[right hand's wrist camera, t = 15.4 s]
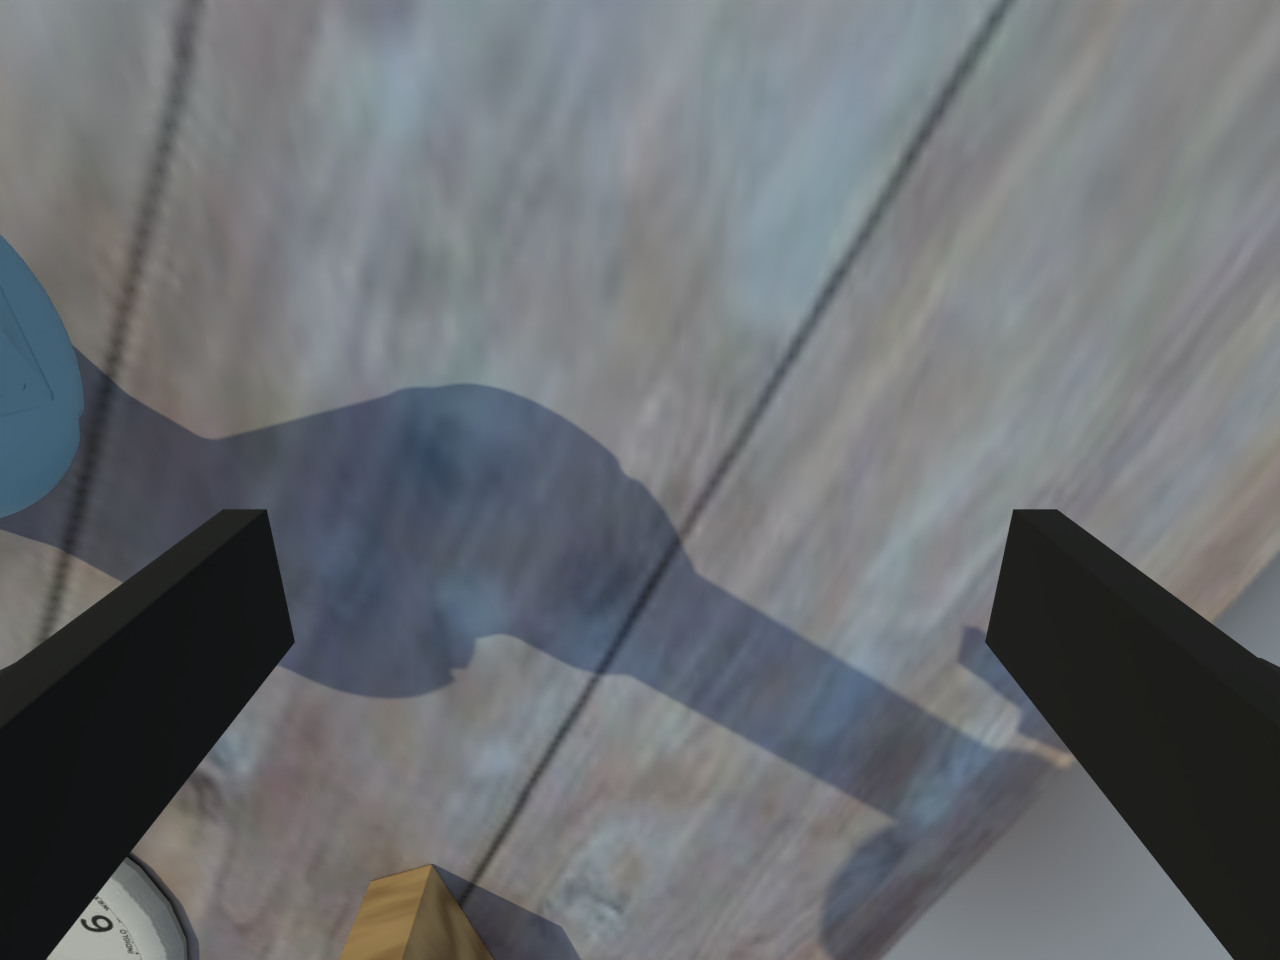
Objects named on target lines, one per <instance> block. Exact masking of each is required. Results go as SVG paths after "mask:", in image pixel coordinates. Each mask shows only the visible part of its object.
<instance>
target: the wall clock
mask: <svg viewBox="0 0 1280 960" xmlns="http://www.w3.org/2000/svg"><path fill="white" fill-rule="evenodd" d="M46 960H187V944H186V938H185V935H184V933H183V931H182V929H181V926H180V924H179V922H178V920H177V917H176V915H175V913H174V911H173V909H172V906H171V904H170V902H169V901H168V900H167V899H166V898H165V896H164V895H163V894H162V893H161V892H160V890H159V889H158V888H157V887H156V886H155V884H154V883H153V882H152V881H151V880H150V878H149V877H148V876H147V875H146V874H145V872H144V871H143V870H142V869H141V868H140V867H139V866H138V865H137V864H135V863H134V862H133V861H131V860H130V859H129V858H128V857H126V858H125V859H124V861H123V862H122V863H121V865H120V866H119V867H118V868H117V870H116V871H115V872H114V874H113V875H112V876H111V877H110V879H109V880H108V881H107V882H106V884H105V885H104V886H103V888H102V889H101V890H100V891H99V893H98V894H97V895H96V896H95V898H94V899H93V900H92V902H91V903H90V904H89V905H88V907H87V908H86V909H85V911H84V912H83V913H82V914H81V916H80V917H79V918H78V919H77V921H76V922H75V923H74V925H73V926H72V927H71V928H70V930H69V931H68V932H67V934H66V935H65V936H64V937H63V939H62V940H61V941H60V942H59V944H58V945H57V946H56V948H55V949H54V950H53V951H52V953H51V954H50V955H49V956H48V958H47V959H46Z"/></svg>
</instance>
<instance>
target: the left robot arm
mask: <svg viewBox="0 0 1280 960" xmlns="http://www.w3.org/2000/svg"><path fill="white" fill-rule="evenodd" d="M83 411H84V394H83V385H82V380H81V375H80V370H79V365H78V361H77V358H76V354H75V352H74V349H73V346H72V343H71V341H70V338H69V336H68V333H67V331H66V329H65V327H64V324H63V322H62V320H61V318H60V316H59V314H58V312H57V310H56V309H55V307H54V305H53V303H52V301H51V300H50V298H49V296H48V294H47V293H46V291H45V289H44V288H43V286H42V285H41V283H40V282H39V280H38V279H37V278H36V276H35V275H34V274H33V272H32V271H31V270H30V268H29V267H28V266H27V264H26V263H25V262H24V260H23V259H22V258H21V257H20V256H19V254H18V253H17V252H16V251H15V250H14V248H13V247H12V246H11V245H10V244H9V243H8V242H7V241H6V240H5V239H4V238H3V237H2V235H0V518H3V517H6V516H9V515H12V514H14V513H17V512H19V511H21V510H23V509H25V508H27V507H29V506H31V505H32V504H34V503H36V502H37V501H39V500H40V499H42V498H43V497H44V496H45V495H47V494H48V493H49V492H50V491H51V490H52V489H53V488H54V487H55V486H56V485H57V484H58V483H59V482H60V480H61V479H62V478H63V476H64V475H65V473H66V472H67V470H68V469H69V467H70V465H71V463H72V461H73V459H74V457H75V454H76V452H77V450H78V447H79V443H80V439H81V437H80V429H79V418H80V417H81V416H82V414H83Z"/></svg>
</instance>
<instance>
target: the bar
mask: <svg viewBox="0 0 1280 960" xmlns="http://www.w3.org/2000/svg"><path fill="white" fill-rule="evenodd" d="M340 960H494V959H493V957H492V956H491V954H490V953H489V951H488V949H487V948H486V946H485V945H484V943H483V942H482V940H481V939H480V937H479V936H478V934H477V933H476V931H475V930H474V928H473V926H472V925H471V923H470V922H469V920H468V919H467V917H466V916H465V914H464V913H463V911H462V910H461V908H460V907H459V905H458V903H457V902H456V900H455V899H454V897H453V896H452V894H451V893H450V891H449V890H448V888H447V887H446V885H445V884H444V882H443V880H442V879H441V877H440V876H439V874H438V873H437V871H436V870H435V868H434V867H433V865H432V864H431V865H427V866H424V867H420V868H417V869H413V870H409V871H406V872H402V873H399V874H395V875H392V876H388V877H384V878H381V879H377V880H374V881H371V882H370V884H369V887H368V889H367V892H366V894H365V897H364V899H363V902H362V904H361V907H360V909H359V912H358V914H357V917H356V919H355V922H354V925H353V927H352V930H351V932H350V935H349V937H348V940H347V942H346V945H345V947H344V950H343V952H342V955H341V957H340Z"/></svg>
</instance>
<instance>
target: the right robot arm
mask: <svg viewBox="0 0 1280 960" xmlns="http://www.w3.org/2000/svg"><path fill="white" fill-rule="evenodd" d="M294 643H295V641H294V636H293V631H292V627H291V622H290V617H289V612H288V608H287V603H286V598H285V594H284V589H283V584H282V579H281V575H280V570H279V565H278V561H277V556H276V551H275V546H274V542H273V537H272V532H271V528H270V523H269V518H268V513H267V509H223V510H222V511H220V512H219V513H218V514H216V515H215V516H214V517H212V518H211V519H209V520H208V521H207V522H205V523H204V524H203V525H201V526H200V527H199V528H197V529H196V530H195V531H193V532H192V533H191V534H189V535H188V536H186V537H185V538H184V539H182V540H181V541H180V542H178V543H177V544H176V545H174V546H173V547H172V548H170V549H169V550H167V551H166V552H165V553H163V554H162V555H161V556H159V557H158V558H157V559H155V560H154V561H153V562H151V563H150V564H149V565H147V566H146V567H144V568H143V569H142V570H140V571H139V572H138V573H136V574H135V575H134V576H132V577H131V578H130V579H128V580H127V581H126V582H124V583H123V584H121V585H120V586H119V587H117V588H116V589H115V590H113V591H112V592H111V593H109V594H108V595H107V596H105V597H104V598H102V599H101V600H100V601H98V602H97V603H96V604H94V605H93V606H92V607H90V608H89V609H88V610H86V611H85V612H84V613H82V614H81V615H79V616H78V617H77V618H75V619H74V620H73V621H71V622H70V623H69V624H67V625H66V626H65V627H63V628H62V629H61V630H59V631H58V632H56V633H55V634H54V635H52V636H51V637H50V638H48V639H47V640H46V641H44V642H43V643H42V644H40V645H39V646H37V647H36V648H35V649H33V650H32V651H31V652H29V653H28V654H27V655H25V656H24V657H23V658H21V659H20V660H19V661H17V662H16V663H14V664H12V665H10V666H8V667H6V668H4V669H2V670H0V960H46V959H47V958H48V956H49V955H50V954H51V953H52V951H53V950H54V949H55V948H56V946H57V945H58V944H59V942H60V941H61V940H62V939H63V937H64V936H65V935H66V934H67V932H68V931H69V930H70V928H71V927H72V926H73V925H74V923H75V922H76V921H77V919H78V918H79V917H80V916H81V914H82V913H83V912H84V911H85V909H86V908H87V907H88V905H89V904H90V903H91V902H92V900H93V899H94V898H95V896H96V895H97V894H98V893H99V891H100V890H101V889H102V888H103V886H104V885H105V884H106V882H107V881H108V880H109V879H110V877H111V876H112V875H113V874H114V872H115V871H116V870H117V868H118V867H119V866H120V865H121V863H122V862H123V861H124V859H125V858H126V857H127V856H128V854H129V853H130V852H131V851H132V849H133V848H134V847H135V845H136V844H137V843H138V842H139V840H140V839H141V838H142V837H143V835H144V834H145V833H146V831H147V830H148V829H149V828H150V826H151V825H152V824H153V822H154V821H155V820H156V819H157V817H158V816H159V815H160V814H161V812H162V811H163V810H164V808H165V807H166V806H167V805H168V803H169V802H170V801H171V800H172V798H173V797H174V796H175V794H176V793H177V792H178V791H179V789H180V788H181V787H182V785H183V784H184V783H185V782H186V780H187V779H188V778H189V777H190V775H191V774H192V773H193V771H194V770H195V769H196V768H197V766H198V765H199V764H200V762H201V761H202V760H203V759H204V757H205V756H206V755H207V754H208V752H209V751H210V750H211V748H212V747H213V746H214V745H215V743H216V742H217V741H218V740H219V738H220V737H221V736H222V734H223V733H224V732H225V731H226V729H227V728H228V727H229V725H230V724H231V723H232V722H233V720H234V719H235V718H236V717H237V715H238V714H239V713H240V711H241V710H242V709H243V708H244V706H245V705H246V704H247V703H248V701H249V700H250V699H251V697H252V696H253V695H254V694H255V692H256V691H257V690H258V688H259V687H260V686H261V685H262V683H263V682H264V681H265V680H266V678H267V677H268V676H269V674H270V673H271V672H272V671H273V669H274V668H275V667H276V665H277V664H278V663H279V662H280V660H281V659H282V658H283V657H284V655H285V654H286V653H287V651H288V650H289V649H290V648H291V646H292V645H293V644H294ZM985 643H986V644H987V645H988V646H989V648H990V649H991V650H992V651H993V653H994V654H995V655H996V657H997V658H998V659H999V660H1000V662H1001V663H1002V664H1003V665H1004V667H1005V668H1006V669H1007V671H1008V672H1009V673H1010V674H1011V676H1012V677H1013V678H1014V680H1015V681H1016V682H1017V683H1018V685H1019V686H1020V687H1021V688H1022V690H1023V691H1024V692H1025V694H1026V695H1027V696H1028V697H1029V699H1030V700H1031V701H1032V703H1033V704H1034V705H1035V706H1036V708H1037V709H1038V710H1039V711H1040V713H1041V714H1042V715H1043V717H1044V718H1045V719H1046V720H1047V722H1048V723H1049V724H1050V725H1051V727H1052V728H1053V729H1054V731H1055V732H1056V733H1057V734H1058V736H1059V737H1060V738H1061V740H1062V741H1063V742H1064V743H1065V745H1066V746H1067V747H1068V748H1069V750H1070V751H1071V752H1072V754H1073V755H1074V756H1075V757H1076V759H1077V760H1078V761H1079V762H1080V764H1081V765H1082V766H1083V768H1084V769H1085V770H1086V771H1087V773H1088V774H1089V775H1090V777H1091V778H1092V779H1093V780H1094V782H1095V783H1096V784H1097V785H1098V787H1099V788H1100V789H1101V791H1102V792H1103V793H1104V794H1105V796H1106V797H1107V798H1108V800H1109V801H1110V802H1111V803H1112V805H1113V806H1114V807H1115V808H1116V810H1117V811H1118V812H1119V814H1120V815H1121V816H1122V817H1123V819H1124V820H1125V821H1126V822H1127V824H1128V825H1129V826H1130V828H1131V829H1132V830H1133V831H1134V833H1135V834H1136V835H1137V837H1138V838H1139V839H1140V840H1141V842H1142V843H1143V844H1144V845H1145V847H1146V848H1147V849H1148V851H1149V852H1150V853H1151V854H1152V856H1153V857H1154V858H1155V859H1156V861H1157V862H1158V863H1159V865H1160V866H1161V867H1162V868H1163V870H1164V871H1165V872H1166V874H1167V875H1168V876H1169V877H1170V879H1171V880H1172V881H1173V882H1174V884H1175V885H1176V886H1177V888H1178V889H1179V890H1180V891H1181V893H1182V894H1183V895H1184V896H1185V898H1186V899H1187V900H1188V902H1189V903H1190V904H1191V905H1192V907H1193V908H1194V909H1195V911H1196V912H1197V913H1198V914H1199V916H1200V917H1201V918H1202V919H1203V921H1204V922H1205V923H1206V925H1207V926H1208V927H1209V928H1210V930H1211V931H1212V932H1213V933H1214V935H1215V936H1216V937H1217V939H1218V940H1219V941H1220V942H1221V944H1222V945H1223V946H1224V948H1225V949H1226V950H1227V951H1228V953H1229V954H1230V955H1231V956H1232V958H1233V959H1234V960H1280V667H1278V666H1276V665H1274V664H1272V663H1270V662H1268V661H1266V660H1264V659H1262V658H1257V657H1256V656H1255V655H1253V654H1252V653H1251V652H1249V651H1248V650H1246V649H1245V648H1244V647H1243V646H1241V645H1240V644H1238V643H1237V642H1236V641H1234V640H1233V639H1232V638H1230V637H1229V636H1228V635H1226V634H1225V633H1224V632H1222V631H1221V630H1219V629H1218V628H1217V627H1215V626H1214V625H1213V624H1211V623H1210V622H1209V621H1207V620H1206V619H1205V618H1203V617H1202V616H1201V615H1199V614H1198V613H1196V612H1195V611H1194V610H1192V609H1191V608H1190V607H1188V606H1187V605H1186V604H1184V603H1183V602H1182V601H1180V600H1179V599H1178V598H1176V597H1175V596H1173V595H1172V594H1171V593H1169V592H1168V591H1167V590H1165V589H1164V588H1163V587H1161V586H1160V585H1159V584H1157V583H1156V582H1154V581H1153V580H1152V579H1150V578H1149V577H1148V576H1146V575H1145V574H1144V573H1142V572H1141V571H1140V570H1138V569H1137V568H1136V567H1134V566H1133V565H1131V564H1130V563H1129V562H1127V561H1126V560H1125V559H1123V558H1122V557H1121V556H1119V555H1118V554H1117V553H1115V552H1114V551H1113V550H1111V549H1110V548H1108V547H1107V546H1106V545H1104V544H1103V543H1102V542H1100V541H1099V540H1098V539H1096V538H1095V537H1094V536H1092V535H1091V534H1089V533H1088V532H1087V531H1085V530H1084V529H1083V528H1081V527H1080V526H1079V525H1077V524H1076V523H1075V522H1073V521H1072V520H1071V519H1069V518H1068V517H1066V516H1065V515H1064V514H1062V513H1061V512H1060V511H1058V510H1057V509H1013V513H1012V518H1011V523H1010V528H1009V532H1008V537H1007V542H1006V546H1005V551H1004V556H1003V561H1002V565H1001V570H1000V575H999V579H998V584H997V589H996V594H995V598H994V603H993V608H992V612H991V617H990V622H989V627H988V631H987V636H986V641H985Z"/></svg>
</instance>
